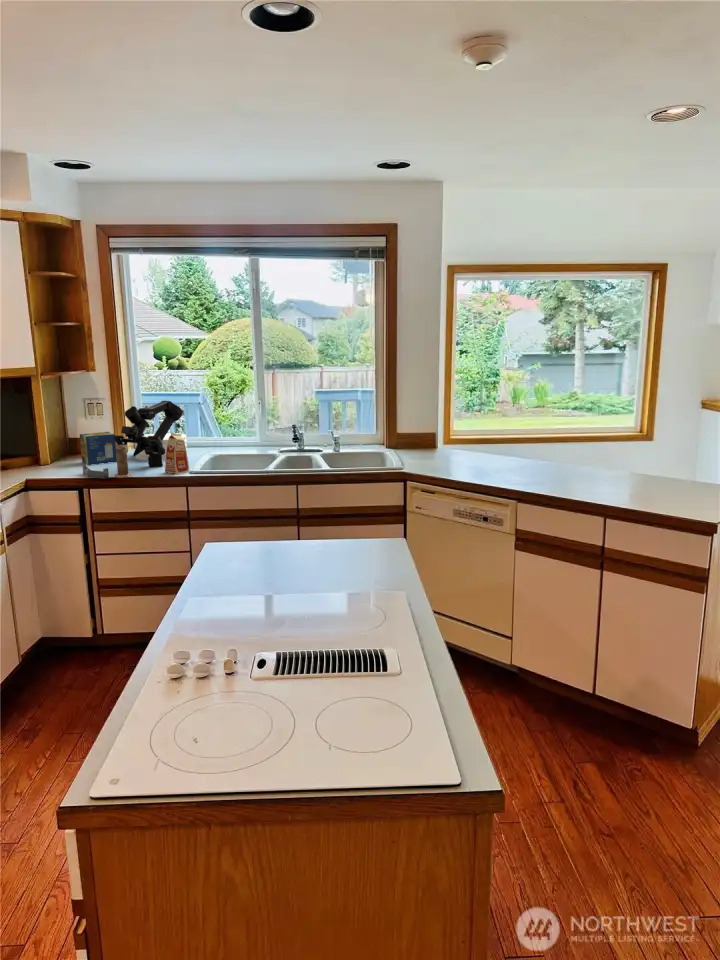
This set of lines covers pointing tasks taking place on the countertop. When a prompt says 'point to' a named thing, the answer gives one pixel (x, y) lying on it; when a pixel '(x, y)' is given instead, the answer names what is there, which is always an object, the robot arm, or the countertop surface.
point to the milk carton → (176, 455)
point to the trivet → (122, 475)
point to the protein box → (98, 448)
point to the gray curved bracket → (95, 472)
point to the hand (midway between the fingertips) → (125, 455)
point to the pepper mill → (122, 460)
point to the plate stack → (143, 455)
